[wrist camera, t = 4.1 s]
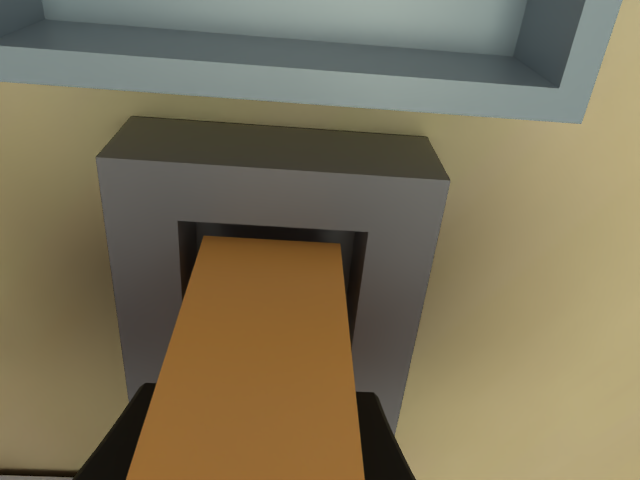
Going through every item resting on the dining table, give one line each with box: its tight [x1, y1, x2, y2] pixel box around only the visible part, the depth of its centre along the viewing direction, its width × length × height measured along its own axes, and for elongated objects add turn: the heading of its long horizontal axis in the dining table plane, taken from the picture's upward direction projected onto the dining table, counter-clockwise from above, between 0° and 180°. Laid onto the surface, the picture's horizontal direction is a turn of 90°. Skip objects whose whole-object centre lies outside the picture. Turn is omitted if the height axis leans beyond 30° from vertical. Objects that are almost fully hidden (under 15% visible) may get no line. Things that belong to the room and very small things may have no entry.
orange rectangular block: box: [126, 236, 365, 480], centre depth 10 cm, size 3×4×8 cm
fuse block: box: [96, 116, 450, 436], centre depth 16 cm, size 7×16×2 cm, turn 175°
